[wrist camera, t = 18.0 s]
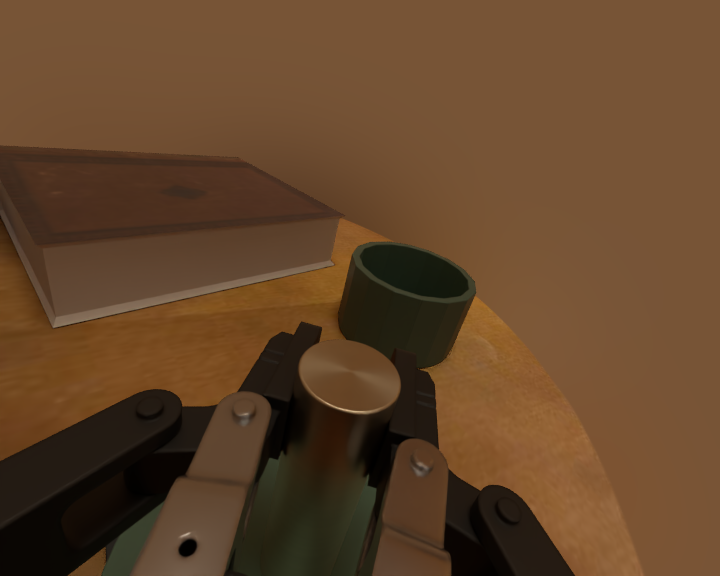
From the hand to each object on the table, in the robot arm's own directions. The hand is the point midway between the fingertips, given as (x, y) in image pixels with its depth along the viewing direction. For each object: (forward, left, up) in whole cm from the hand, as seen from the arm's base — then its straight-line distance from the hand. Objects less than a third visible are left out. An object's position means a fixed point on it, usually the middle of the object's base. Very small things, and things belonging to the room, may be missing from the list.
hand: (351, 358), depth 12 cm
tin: (+14, -16, -12) cm, 24 cm away
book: (+36, 0, -12) cm, 38 cm away
